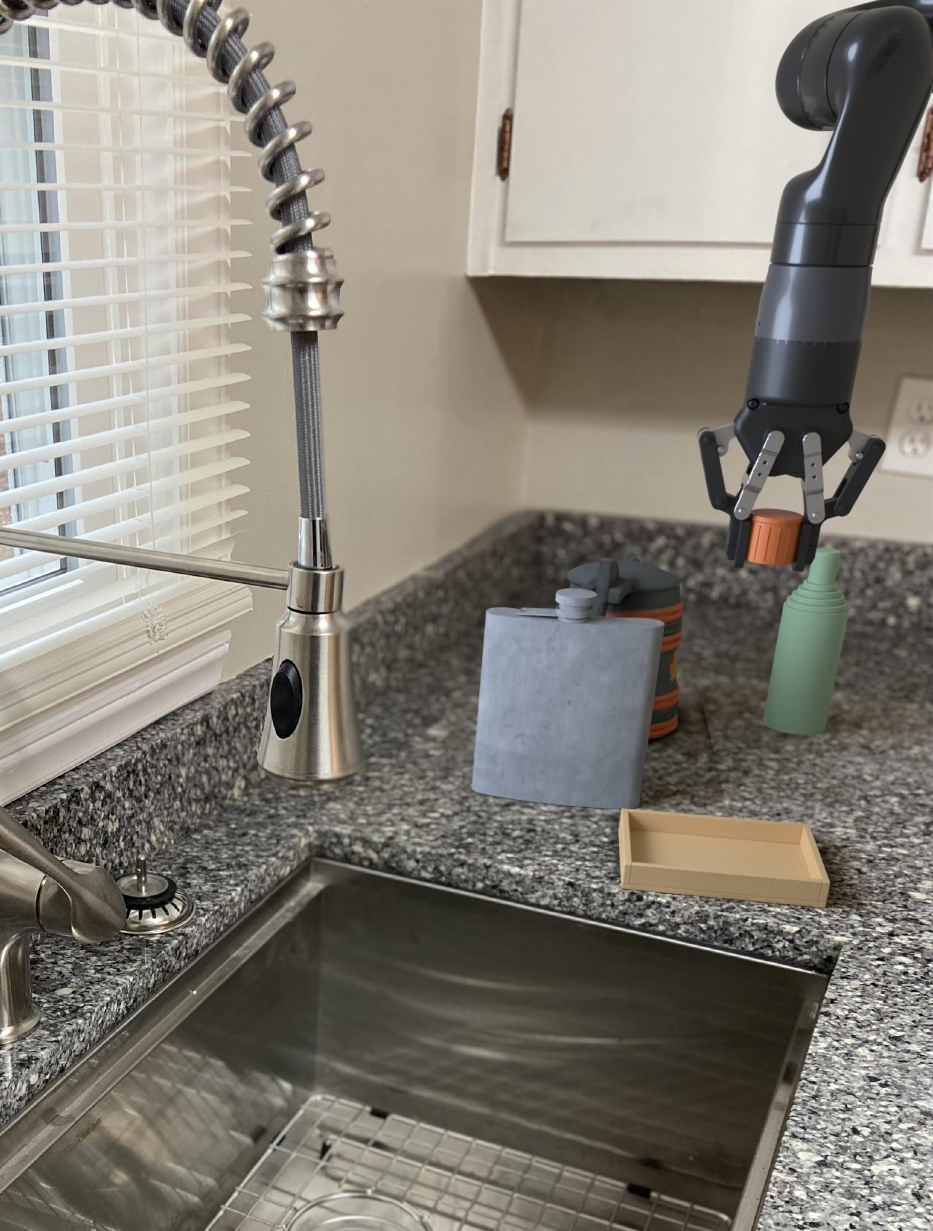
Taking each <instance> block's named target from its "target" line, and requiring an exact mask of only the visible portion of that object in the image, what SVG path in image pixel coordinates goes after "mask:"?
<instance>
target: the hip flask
mask: <svg viewBox="0 0 933 1231" xmlns="http://www.w3.org/2000/svg"><path fill="white" fill-rule="evenodd" d="M596 599H597V593H595V592H593V591H590V590H585V589H577V588H570V587H569V588H561V589H557V591H556V593H555V602H556V603H557V604H558V605H556V607H555V608H545V607H543V608H542V607H541V608H540V607H521V608H520V609H519V608H513V607H505V606H498V607H491V608H487V609H486V611H485V620H484V621H485V622H484V623H485V624H484V633H483V647H482V657H481V658H482V659H481V671H480V682H479V695H478V705H477V717H476V718H477V719H476V728H475V729H476V731H475V741H474V742H475V743H474V754H473V766H472V777H471V778H472V779H471V790H472V791H474V792H475V793H477V794H481V795H486V796H491V797H496V798H497V797H498V798H503V799H510V800H515V801H522V802H528V803H530V802H531V803H538V804H546V805H555V806H565V807H576V808H590V809H591V808H592V809H606V810H607V809H608V810H609V809H610V810H621V809H622V808H624V809H636V808H638V807H639V806H640V800H641V794H642V787H643V780H644V772H645V766H646V758H647V752H648V745H649V741H648V738H649V731H650V724H651V717H652V710H653V703H654V696H655V689H656V682H657V675H658V668H659V661H660V654H661V646H662V639H663V632H664V625H665V624H664V623H663V622H662V621H659V620H656V619H650V618H626V617H604V616H592V610H593V607H592V606H591V605H594V604H596Z"/></svg>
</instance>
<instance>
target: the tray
mask: <svg viewBox="0 0 933 1231" xmlns="http://www.w3.org/2000/svg"><path fill="white" fill-rule="evenodd" d="M617 832H618V846H619V847H618V848H619V867H620V868H619V869H620V886H621V889H622V890H631V891H641V892H650V893H651V892H653V893H664V894H673V895H684V896H693V897H705V898H716V899H725V900H737V901H747V902H757V903H766V904H767V903H768V904H777V905H779V904H780V905H788V904H790V906H801V907H809V906H811V908H821V909H825V908H826V906H827V902H828V897H829V891H830V887H831V881H830V878H829V875H828V872H827V870H826V867H825V864H824V861H823V859H822V855H821V852H820V851H819V848H818V845H817V842H816V839H815V836H814V834H813V831H812V827H811V826H810V824H809V823H801V822H787V821H777V820H763V819H754V818H741V817H730V816H718V815H707V814H706V815H705V814H697V813H695V814H693V813H683V812H671V811H659V810H646V809H636V808H633V809H624V808H622V809H620V817H619V825H618V830H617Z"/></svg>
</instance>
